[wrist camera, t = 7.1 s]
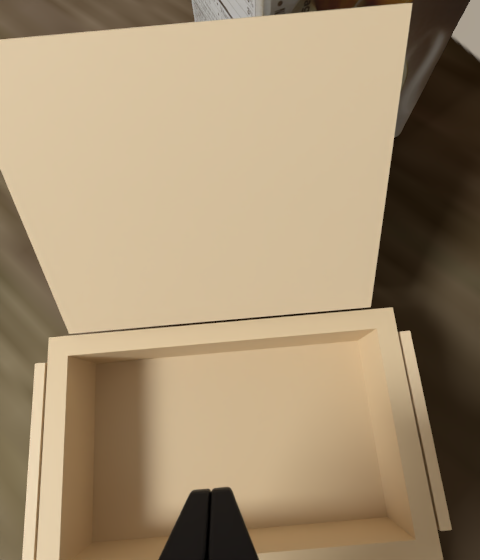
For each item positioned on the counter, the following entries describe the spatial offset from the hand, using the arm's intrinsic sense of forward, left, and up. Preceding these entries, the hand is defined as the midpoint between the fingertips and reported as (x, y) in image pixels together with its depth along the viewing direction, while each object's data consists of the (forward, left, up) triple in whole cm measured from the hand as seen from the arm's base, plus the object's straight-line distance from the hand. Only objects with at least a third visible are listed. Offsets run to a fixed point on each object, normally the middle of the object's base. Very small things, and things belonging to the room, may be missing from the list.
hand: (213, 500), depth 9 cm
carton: (-3, +2, -10) cm, 11 cm away
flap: (+6, -5, -2) cm, 9 cm away
